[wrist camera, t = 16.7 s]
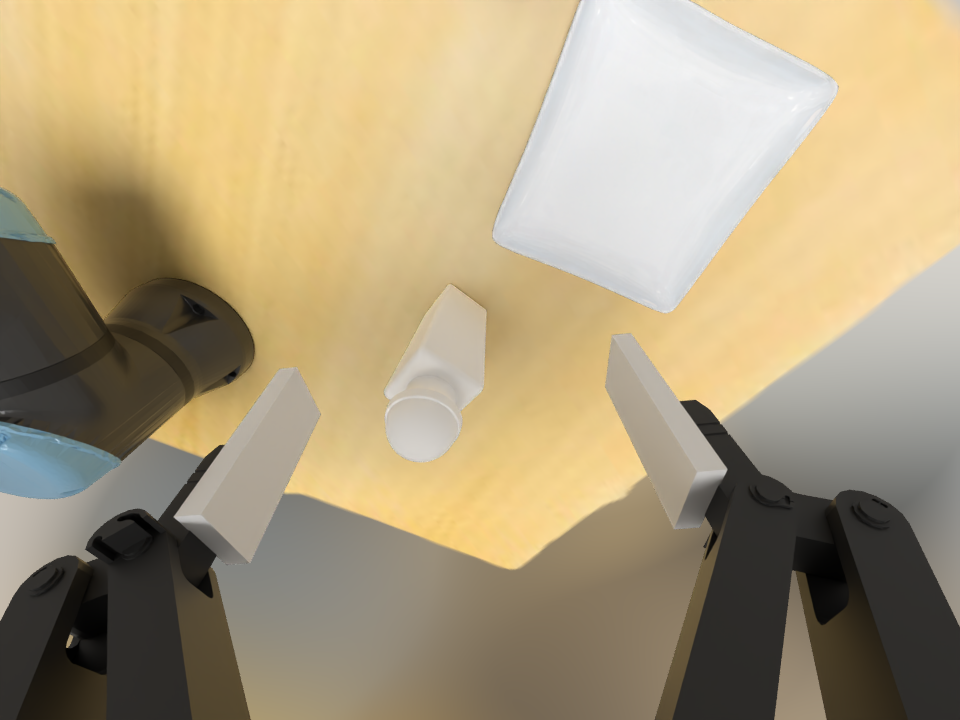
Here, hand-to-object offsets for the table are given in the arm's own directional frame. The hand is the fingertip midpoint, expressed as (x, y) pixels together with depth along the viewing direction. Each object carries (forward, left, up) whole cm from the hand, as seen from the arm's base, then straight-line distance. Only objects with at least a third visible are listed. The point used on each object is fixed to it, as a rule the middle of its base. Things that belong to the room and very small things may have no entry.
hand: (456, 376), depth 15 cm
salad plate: (+14, +5, -27) cm, 31 cm away
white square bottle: (-4, -10, -27) cm, 29 cm away
